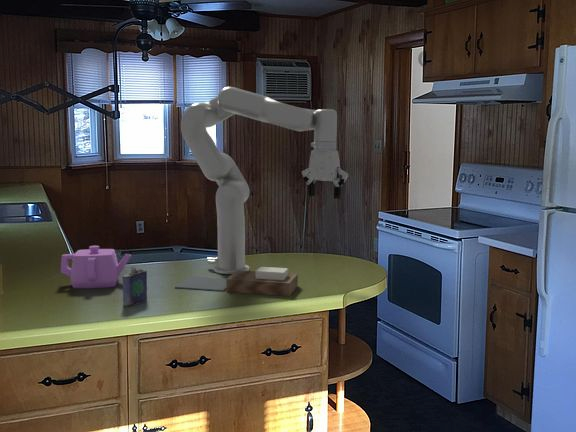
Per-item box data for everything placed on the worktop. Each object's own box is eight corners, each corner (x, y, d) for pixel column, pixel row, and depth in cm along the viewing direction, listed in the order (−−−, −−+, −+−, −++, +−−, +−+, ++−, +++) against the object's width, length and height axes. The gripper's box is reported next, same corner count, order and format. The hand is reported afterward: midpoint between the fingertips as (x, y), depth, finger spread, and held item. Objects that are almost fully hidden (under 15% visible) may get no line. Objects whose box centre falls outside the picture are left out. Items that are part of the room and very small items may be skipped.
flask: (127, 307, 188) (126, 270, 186) (120, 306, 189) (118, 269, 188) (149, 299, 196) (148, 264, 194) (141, 298, 197) (140, 263, 196)
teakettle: (57, 284, 212) (55, 247, 210) (99, 274, 226) (98, 239, 224) (91, 293, 202) (90, 253, 200) (133, 282, 216) (132, 245, 214)
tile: (255, 278, 205) (255, 270, 205) (260, 273, 211) (260, 266, 211) (283, 280, 203) (283, 272, 203) (288, 275, 209) (288, 268, 209)
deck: (226, 291, 205) (226, 279, 204) (237, 282, 216) (237, 270, 216) (289, 295, 201) (289, 283, 200) (297, 286, 212) (297, 273, 211)
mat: (175, 288, 209) (175, 286, 209) (191, 277, 222) (191, 276, 222) (223, 291, 205) (223, 290, 205) (236, 280, 219) (236, 279, 219)
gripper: (297, 146, 223) (296, 196, 225) (343, 147, 214) (341, 200, 216) (308, 145, 229) (307, 194, 232) (353, 147, 220) (352, 198, 223)
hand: (324, 197), depth 224 cm, fingers open, 9 cm apart
